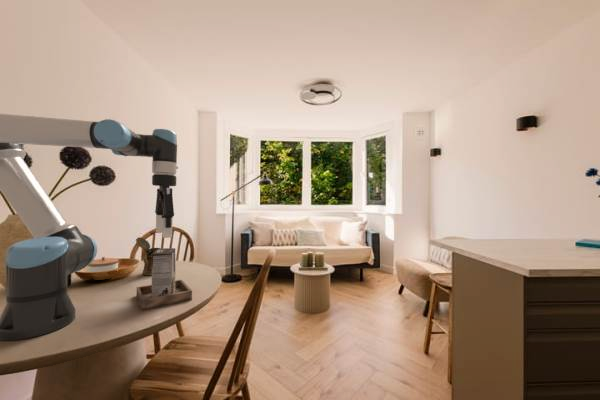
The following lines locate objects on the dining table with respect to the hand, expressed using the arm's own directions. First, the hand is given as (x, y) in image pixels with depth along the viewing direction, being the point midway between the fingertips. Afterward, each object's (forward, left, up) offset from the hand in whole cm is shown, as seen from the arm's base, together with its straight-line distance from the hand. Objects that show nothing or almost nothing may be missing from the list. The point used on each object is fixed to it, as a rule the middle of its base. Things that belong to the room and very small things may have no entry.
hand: (163, 235), depth 90 cm
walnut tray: (0, 0, -22) cm, 22 cm away
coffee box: (0, 0, -22) cm, 22 cm away
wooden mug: (0, +34, -22) cm, 41 cm away
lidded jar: (-17, +38, -22) cm, 47 cm away
